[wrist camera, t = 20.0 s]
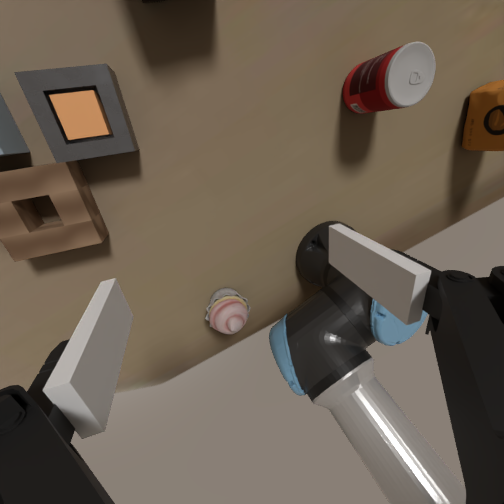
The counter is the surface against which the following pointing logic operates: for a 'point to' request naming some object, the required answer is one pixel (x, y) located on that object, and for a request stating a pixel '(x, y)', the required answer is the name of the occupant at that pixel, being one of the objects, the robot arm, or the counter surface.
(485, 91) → the coffee package
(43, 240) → the socket block
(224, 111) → the counter surface
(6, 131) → the blue square collar
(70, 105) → the orange square block
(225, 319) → the cupcake
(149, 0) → the manual coffee grinder
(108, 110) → the housing
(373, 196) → the counter surface
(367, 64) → the canned food
